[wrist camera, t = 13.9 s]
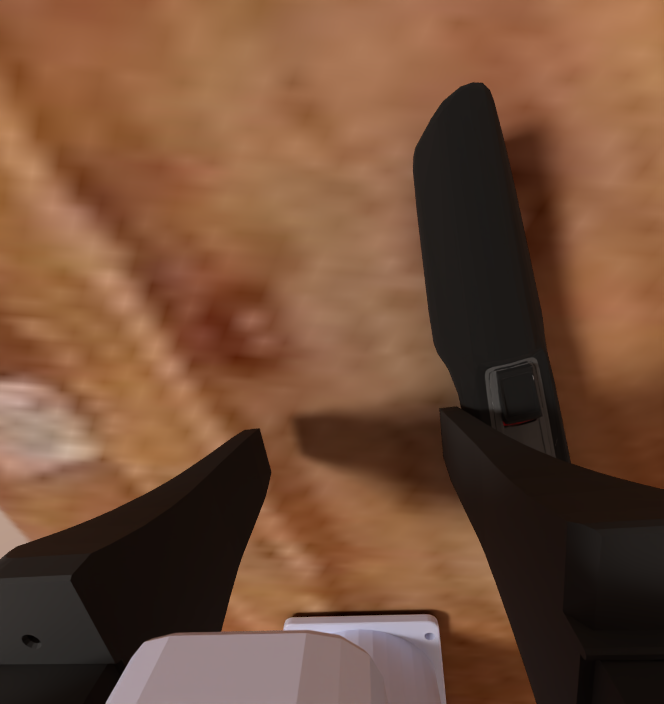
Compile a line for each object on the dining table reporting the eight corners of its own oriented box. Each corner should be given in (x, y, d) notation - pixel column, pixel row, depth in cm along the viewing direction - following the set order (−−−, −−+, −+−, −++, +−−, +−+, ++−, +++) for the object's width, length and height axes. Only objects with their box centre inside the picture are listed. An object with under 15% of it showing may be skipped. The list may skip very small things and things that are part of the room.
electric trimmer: (499, 110, 10) (561, 41, 7) (557, 502, 14) (614, 571, 11) (383, 153, 10) (393, 109, 7) (470, 517, 14) (499, 586, 11)
